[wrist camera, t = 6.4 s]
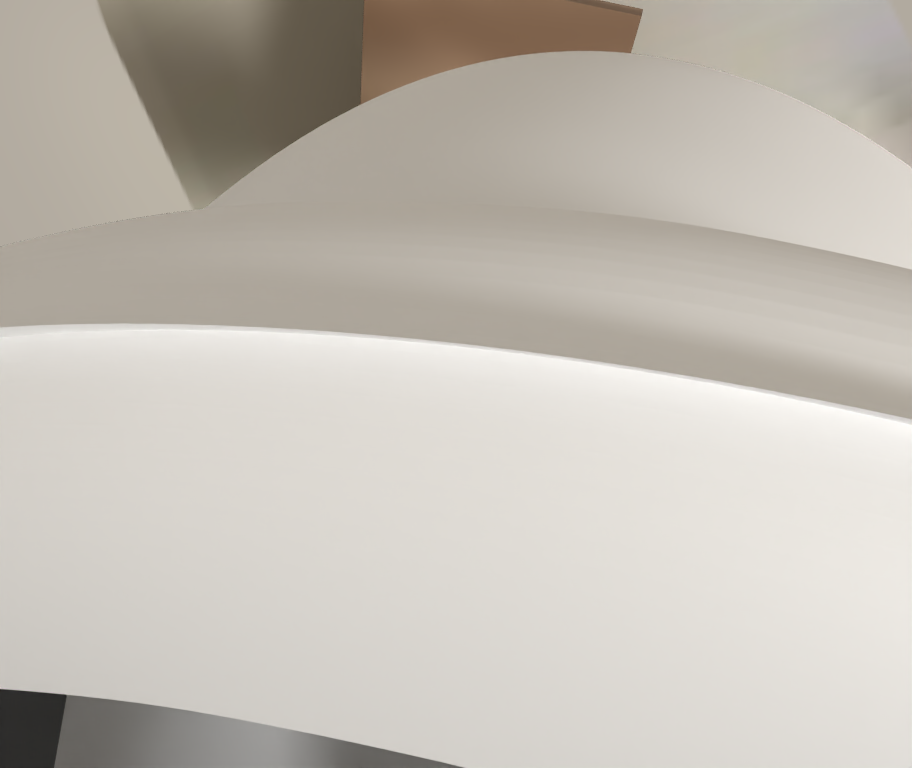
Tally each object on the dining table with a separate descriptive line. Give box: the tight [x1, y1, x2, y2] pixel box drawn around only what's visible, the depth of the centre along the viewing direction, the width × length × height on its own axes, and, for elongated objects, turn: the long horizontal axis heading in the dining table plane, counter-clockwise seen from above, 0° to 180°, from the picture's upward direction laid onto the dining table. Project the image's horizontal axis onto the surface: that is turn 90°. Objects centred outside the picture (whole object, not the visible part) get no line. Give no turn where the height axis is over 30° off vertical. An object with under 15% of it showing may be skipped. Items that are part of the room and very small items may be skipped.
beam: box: [360, 0, 643, 105], centre depth 31 cm, size 28×10×4 cm, turn 170°
